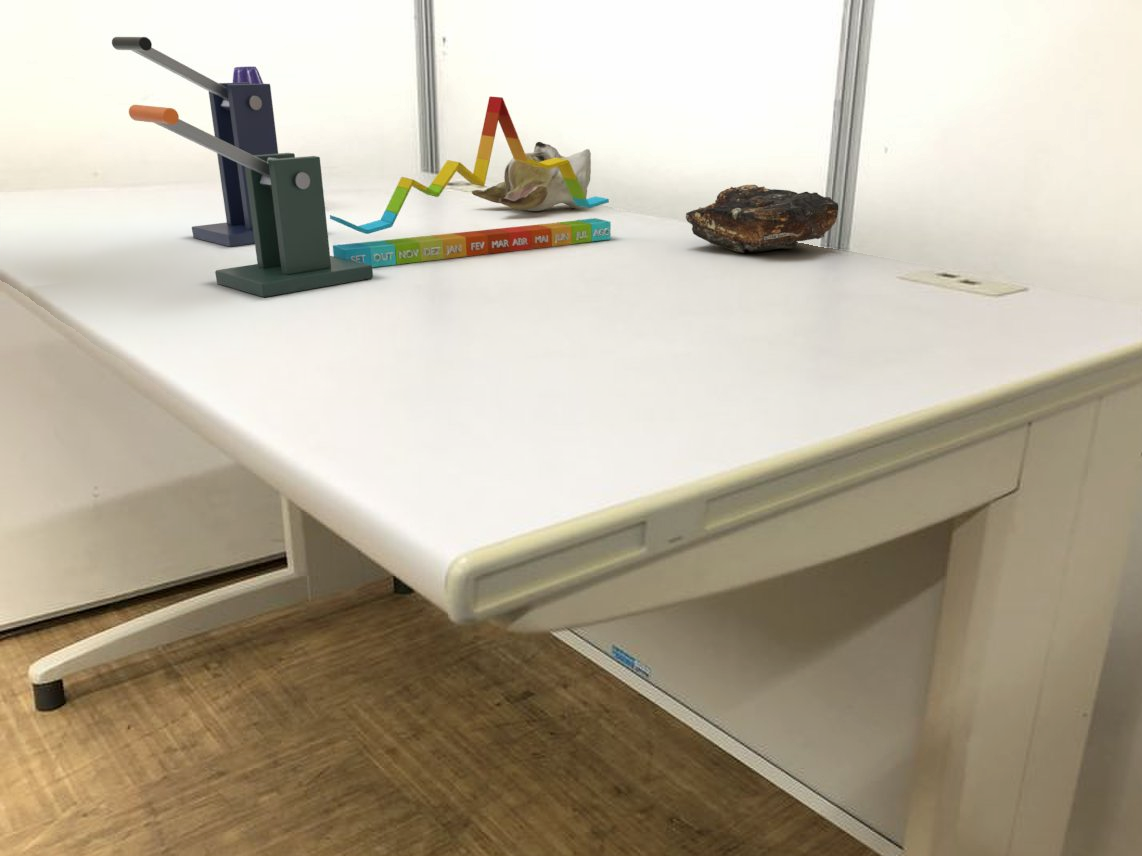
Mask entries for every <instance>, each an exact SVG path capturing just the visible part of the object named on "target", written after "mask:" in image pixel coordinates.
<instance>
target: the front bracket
mask: <svg viewBox="0 0 1142 856" xmlns="http://www.w3.org/2000/svg"><path fill="white" fill-rule="evenodd" d="M253 156H255V157H258V158H260V159H262V160H264V161H266V162H267V160H268V157H270V158H277V159H269V160H268V163H269V171H270V179H271V188H272V189H271V188H268V187H266V186H264V185H262V184H260V181H261V178H262V174H260V173H258V172H256V171H254V170H251V169H249V168H247V167H245V171H246V179H247V187H248V194H249V202H250V210H251V217H252V225H253V233H254V240H255V243H254V247H255V248H254V249H255V255H256V262H257V263H255V264H248V265H241V266H235V267H234V266H233V267H228V268H222V269H216V270H215V271H214V273H215V281H216V284H218V285H221V286H225V287H228V288H231V289H235V290H238V291H242V292H245V293H248V294H252V295H255V296H259V297H262V298H267V297H268V298H269V297H274V296H279V295H285V294H292V293H296V292H302V291H303V292H304V291H308V290H314V289H320V288H325V287H330V286H336V285H342V284H347V283H354V282H359V281H364V280H370V279H373V278H374V273H373V271H374V270H373V267H372V265H368V264H364V263H360V262H355V261H351V260H347V259H342V258H338V257H334V255H331V253H330V243H329V235H328V223H327V214H326V203H325V194H324V186H323V175H322V167H321V165H322V164H321V157H320V156H317V155H309V156H297V157H296V156H295V153H293V152H281V153H280V152H278V154H265V155H253Z"/></svg>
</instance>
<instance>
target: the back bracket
mask: <svg viewBox="0 0 1142 856" xmlns="http://www.w3.org/2000/svg"><path fill="white" fill-rule="evenodd" d="M218 83H219V84H221V85H223V86H224V87H226V88H227V91H228V98H229V106H230V111H229V110H227V109H226V108H224V107H222V106H221V104H222V101H223V98H221V97H219V96H217V95H215V94H213V93H211V92H209V91H208V97H209V98H208V99H209V104H210V112H211V119H212V126H213V133H214V136H215V137H217V138H219V139H221V140H223V141H225V142H227V143H229V144H231V145H233V146H235V147H237V148H239V149H241V150H243V151H245V152H247V153H249V154H251V155H265V154H278V153H279V147H278V139H277V138H278V137H277V131H276V123H275V113H274V105H273V97H272V88H271V87H272V86H271V84H270V83H263V84H250V83H233V82H218ZM216 156H217V162H218V163H217V164H218V169H219V176H220V185H221V190H222V191H221V192H222V200H223V206H224V212H225V219H226V221H225V222H219V223H210V224H201V225H194V226H191V231H192V232H191V233H192V237H193V239H197V240H201V241H206V242H209V243H214V244H218V245H222V246H226V247H229V248H231V247H238V246H245V245H253V244H254V245H255V240H254V233H253V225H252V217H251V210H250V202H249V194H248V187H247V179H246V171H245V166H243V165H241V164H239V163H237V162H235V161H233V160H231V159H228V158H226V157H224V156H222V155H220V154H218V153H216Z"/></svg>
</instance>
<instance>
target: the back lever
mask: <svg viewBox="0 0 1142 856" xmlns="http://www.w3.org/2000/svg"><path fill="white" fill-rule="evenodd" d="M111 45H112V47H113V48H114V49H115V50H117V51H131V52H134V53H135V54H137V55H139V56H140V57H142V58H144V59H146V60H148V61H150V62H153V63H154V64H156V65H158V66H160V67H162V68H164V69H165V70H167V71H169V72H171V73H173V74H175V75H177V76H179V77H181V78H182V79H185V80H186V81H188V82H191V83H193V84H194V85H196V86H198V87H200V88H202V89H203V90H206V91H207V92H208V93H209V92H211V93H213V94H215V95H217V96H219V97H221V98H223V101H222V104H221V106H222V107H224V108H226V109H227V110H229V111H230V106H229V98H228V91H227V88H226V87H224V86H223V85H221V84H219V83H220V82H217V81H215V80H213V79H212V78H210V77H207V76H206V75H204V74H202V73H201V72H198V71H196V70H195V69H193V68H192V67H189V66H187V65H186V64H183V63H182V62H180V61H178V60H176V59H174V58H172V57H170V56H169V55H167V54H165V53H163V52H161V51H159V50H158V49H156V48H154V47H152V46H153V44H152V41H151V39H149V38H148V37H147V36H114V37H112V39H111Z"/></svg>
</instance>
